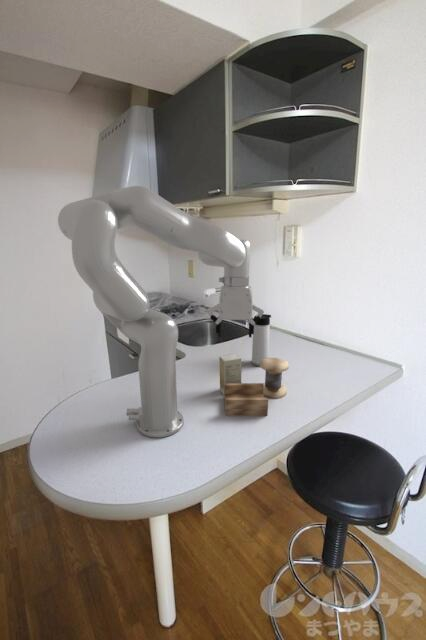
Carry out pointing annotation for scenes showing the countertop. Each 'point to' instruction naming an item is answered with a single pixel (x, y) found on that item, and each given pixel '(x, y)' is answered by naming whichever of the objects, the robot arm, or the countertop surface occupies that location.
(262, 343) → the travel mug
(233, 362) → the skincare box
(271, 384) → the bobbin
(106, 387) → the countertop surface
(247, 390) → the walnut stepped block
